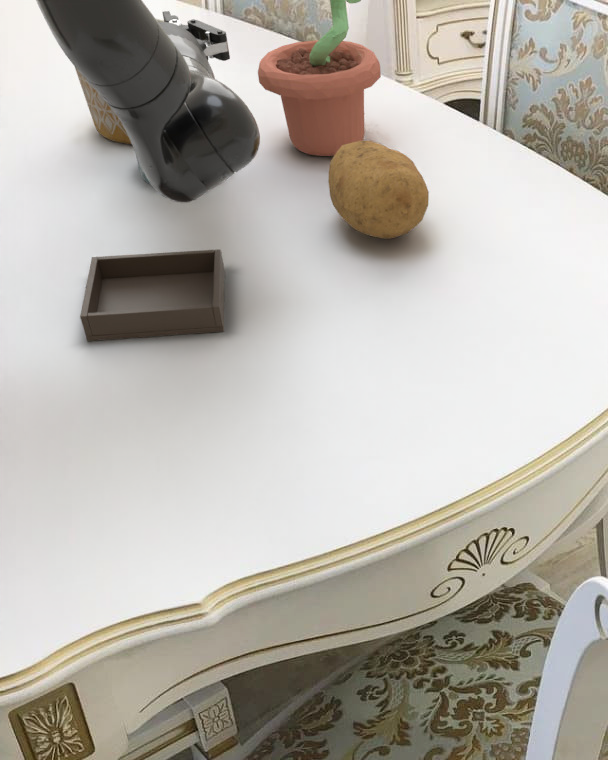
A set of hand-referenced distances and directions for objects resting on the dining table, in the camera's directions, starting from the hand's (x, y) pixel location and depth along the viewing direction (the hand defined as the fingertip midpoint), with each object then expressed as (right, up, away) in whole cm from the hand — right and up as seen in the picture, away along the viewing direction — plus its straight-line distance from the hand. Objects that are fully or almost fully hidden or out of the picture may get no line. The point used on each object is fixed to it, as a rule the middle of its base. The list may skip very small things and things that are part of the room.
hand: (151, 23), depth 117 cm
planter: (-7, -3, +17) cm, 19 cm away
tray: (+5, -33, -12) cm, 36 cm away
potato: (+24, -22, 0) cm, 33 cm away
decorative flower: (+16, -6, +15) cm, 23 cm away
